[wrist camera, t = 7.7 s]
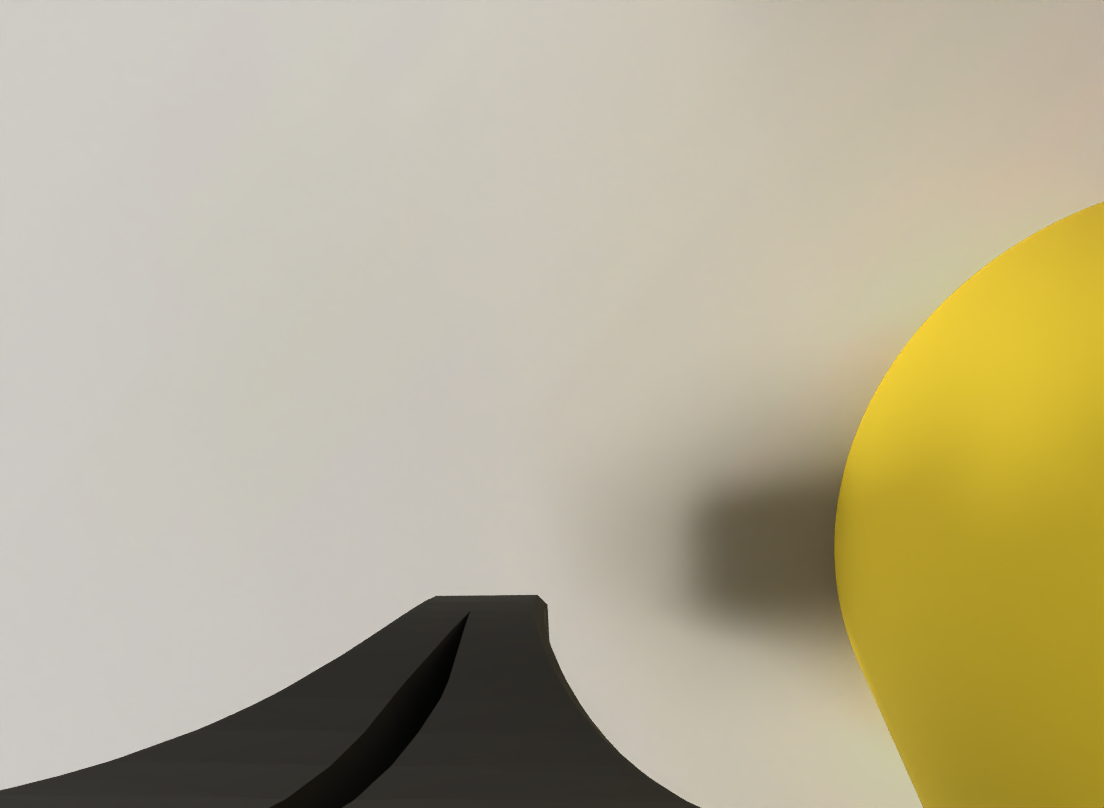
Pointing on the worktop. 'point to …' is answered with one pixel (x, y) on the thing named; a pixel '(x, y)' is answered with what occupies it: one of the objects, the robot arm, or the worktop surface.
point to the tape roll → (989, 533)
